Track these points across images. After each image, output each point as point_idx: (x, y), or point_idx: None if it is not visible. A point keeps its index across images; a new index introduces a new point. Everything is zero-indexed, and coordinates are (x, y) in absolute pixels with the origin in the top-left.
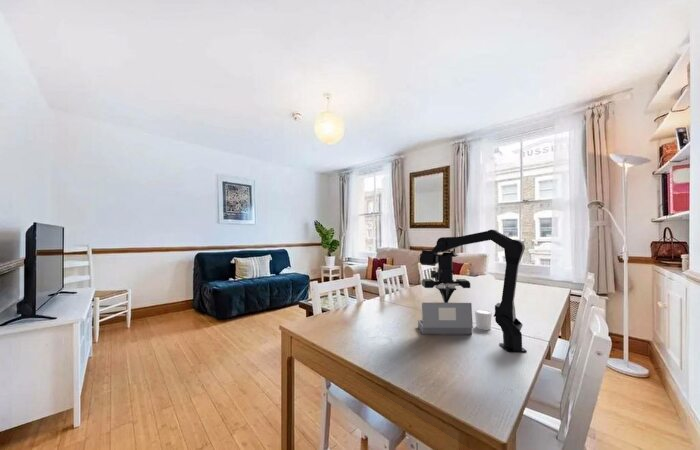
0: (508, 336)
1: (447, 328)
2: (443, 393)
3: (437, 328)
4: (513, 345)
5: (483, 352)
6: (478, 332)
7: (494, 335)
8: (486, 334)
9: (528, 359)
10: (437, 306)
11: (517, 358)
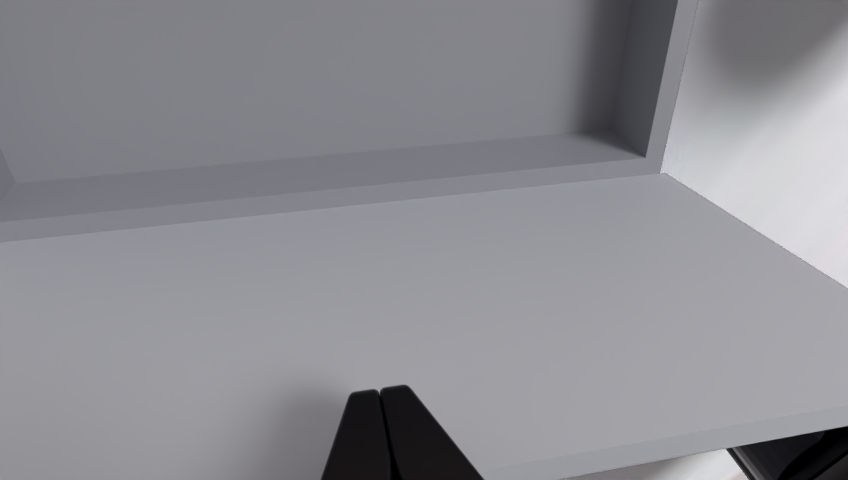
0: (755, 478)
1: (342, 199)
2: None
3: (199, 213)
4: (728, 449)
5: None
6: (738, 46)
7: (832, 124)
8: (777, 103)
9: (706, 467)
10: (135, 472)
11: (658, 470)
